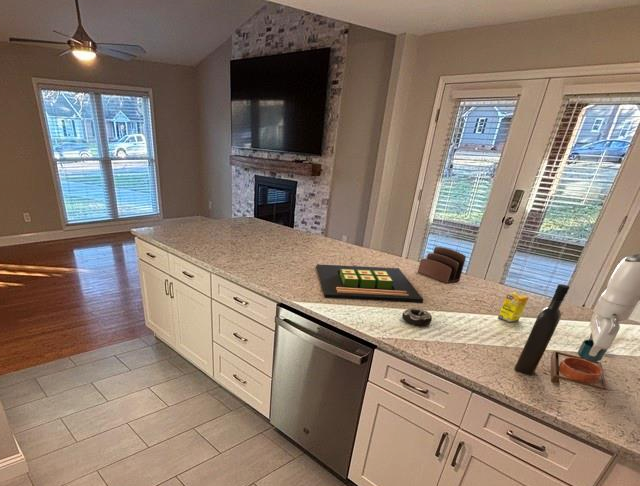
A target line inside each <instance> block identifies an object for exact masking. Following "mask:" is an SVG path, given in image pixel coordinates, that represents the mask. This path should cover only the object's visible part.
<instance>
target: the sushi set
mask: <svg viewBox="0 0 640 486" xmlns="http://www.w3.org/2000/svg"><path fill="white" fill-rule="evenodd" d="M316 272H317V275H318V279H319V283H320V286H321V291H322V293H323V297H324V298H325V299H343V300H362V301H380V302H381V301H382V302H404V303H419V304H420V303H421V304H422V303H423V302H424V298H423V297H422V296H421V294H420V293H419V292H418V290H417V289H416V288H415V287H414V286H413V284H412V283H411V282H410V281H409V279H408V278H407V277H406V276H405V274H404V273H403V272H402V270H401V269H400V268H399V267H381V266H380V267H379V266H362V265H361V266H359V265H339V264H321V263H320V264H317V263H316Z"/></svg>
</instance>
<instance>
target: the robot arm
mask: <svg viewBox="0 0 640 486" xmlns="http://www.w3.org/2000/svg"><path fill="white" fill-rule="evenodd" d="M639 302H640V253H636V254H629V255H627V256H626V257H624V258H623V259H622V260H621V261H620V263H618V264H617V266H616V268H615V269H614V271H613V273H612V274H611V275H610V278H609V280H608V281H607V286H606V289H605V290H604V292H603V293H602V294H601V295H600V297H599V298H598V299H597V301H596V303H595V306H594V308H593V310H592V311H593V314H592V316H591V318H590V322H589V327H590V334H589V336H588V337H589V338H588V340H593V342H594V345H593V347H592V348H591V349H590V351H589V355H590V356H596V355H597V353H598V352H599V351H600V350H601V349H606V350H607V349H608V350H609V349H610V348H611V347H612V345H613V343H614V342H615V339H616V337H617V336H618V333H619V331H620V328H621V325H620V324H621V323H622V322H624V321H628V320H629V319H630V317H631V316H632V314H633V312H634V310H635V309H636V307H637V306H638V303H639ZM608 350H607V351H608Z"/></svg>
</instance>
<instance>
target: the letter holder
mask: <svg viewBox="0 0 640 486" xmlns="http://www.w3.org/2000/svg"><path fill="white" fill-rule="evenodd" d="M466 259H467V256H466V255H465V254H463V253H461V252H459V251H456V250H453V249H451V248H448V247H442V246H435V247H434V248H433V252H428V254H427V255H426V258H421V259H420V261H419V264H418V268H417V273H419V274H421V275H424V276H426V277H429V278H431V279H434V280H436V281H439V282H442V283H445V284H451V283H456V282H459V281H460V279H461V276H462V272H463V270H464V266H465V263H466Z"/></svg>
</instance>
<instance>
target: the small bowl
mask: <svg viewBox="0 0 640 486" xmlns="http://www.w3.org/2000/svg"><path fill="white" fill-rule="evenodd" d="M593 345H594V342H593V340H589V339H584V340H583V341H582V342H581V344H580V346H579V348H578V350H577V355H578V357H581V358H583V359H586V360H589V361H598V362H601V361H602V360H603V358H604V357H605V355H606V354H607V352H608V350H609V349H607V350H606V349H601V350H600V351H599V352H598V353H597V355H596V356H590V355H589V351H590V349H591V348H592V347H593Z"/></svg>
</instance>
